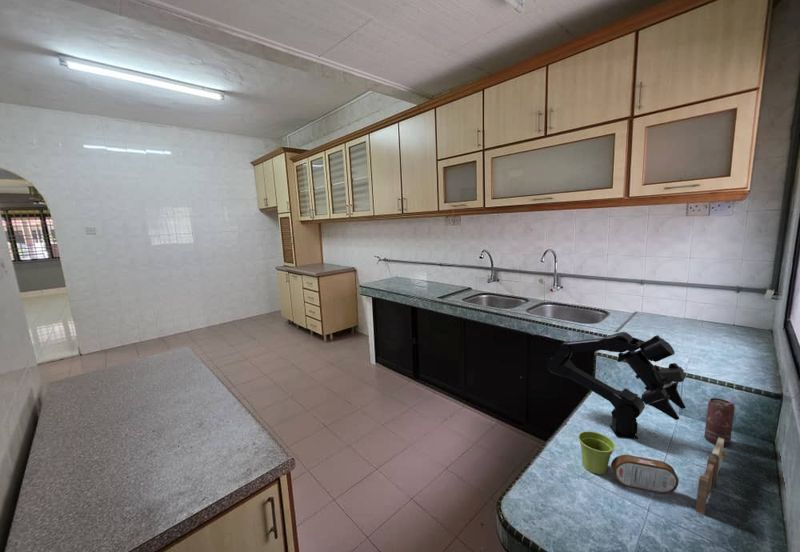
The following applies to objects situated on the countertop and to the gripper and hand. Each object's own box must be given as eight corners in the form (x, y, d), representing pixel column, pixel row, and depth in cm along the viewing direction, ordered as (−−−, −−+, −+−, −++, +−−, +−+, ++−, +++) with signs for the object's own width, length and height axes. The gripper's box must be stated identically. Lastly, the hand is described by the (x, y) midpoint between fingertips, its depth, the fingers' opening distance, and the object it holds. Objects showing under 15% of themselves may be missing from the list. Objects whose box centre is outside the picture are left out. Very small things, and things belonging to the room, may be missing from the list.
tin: (673, 490, 88) (676, 461, 87) (679, 499, 86) (682, 469, 84) (609, 477, 93) (611, 450, 92) (612, 485, 90) (614, 457, 89)
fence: (703, 514, 81) (708, 482, 79) (695, 510, 82) (699, 478, 81) (713, 490, 88) (717, 459, 87) (705, 486, 89) (708, 456, 88)
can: (735, 448, 104) (741, 407, 102) (712, 446, 106) (717, 406, 104) (721, 437, 110) (726, 398, 108) (699, 435, 111) (704, 396, 110)
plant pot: (620, 473, 95) (622, 445, 94) (598, 483, 91) (600, 455, 90) (591, 453, 103) (592, 428, 102) (569, 462, 100) (571, 435, 99)
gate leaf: (719, 490, 87) (723, 461, 86) (704, 484, 90) (708, 455, 89) (727, 468, 95) (730, 441, 94) (713, 463, 98) (716, 436, 97)
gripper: (660, 365, 96) (704, 416, 89) (674, 349, 108) (713, 394, 101) (625, 380, 103) (663, 428, 97) (642, 363, 115) (677, 406, 109)
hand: (681, 413), depth 101 cm, fingers open, 9 cm apart
